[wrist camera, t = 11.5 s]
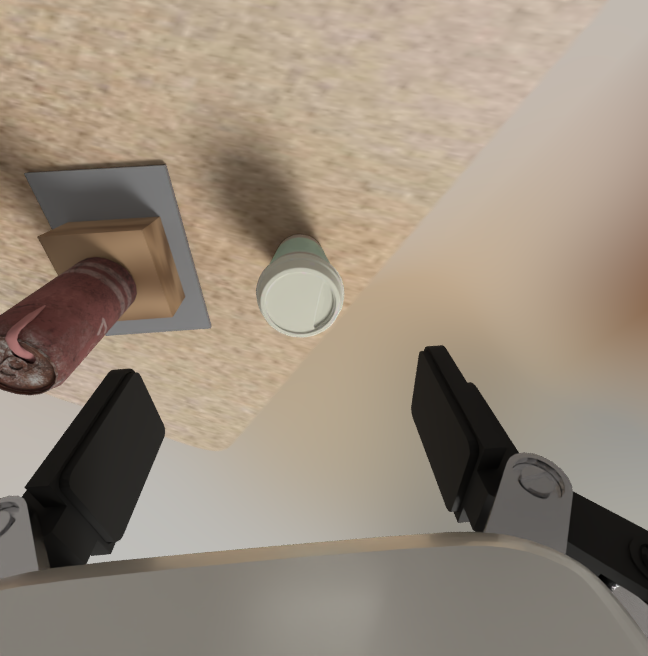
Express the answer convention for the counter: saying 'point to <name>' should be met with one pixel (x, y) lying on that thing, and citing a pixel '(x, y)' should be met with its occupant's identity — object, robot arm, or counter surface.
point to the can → (61, 324)
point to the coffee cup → (300, 289)
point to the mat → (123, 203)
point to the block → (123, 259)
